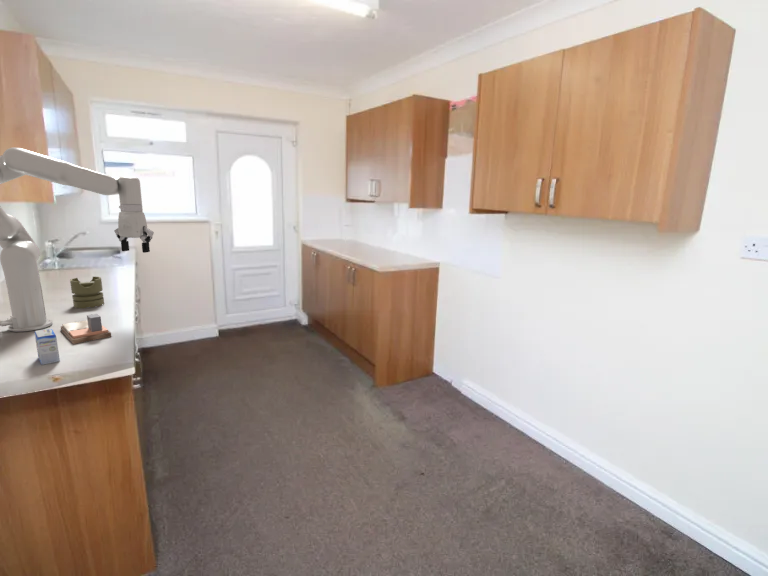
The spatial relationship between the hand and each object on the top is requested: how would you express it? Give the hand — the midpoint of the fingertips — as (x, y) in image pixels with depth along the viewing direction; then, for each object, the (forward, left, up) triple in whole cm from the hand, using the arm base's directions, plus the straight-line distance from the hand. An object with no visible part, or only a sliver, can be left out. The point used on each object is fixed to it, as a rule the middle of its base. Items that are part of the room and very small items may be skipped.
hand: (135, 251), depth 168 cm
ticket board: (-23, -13, -27) cm, 37 cm away
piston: (-12, +32, -27) cm, 43 cm away
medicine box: (-36, -34, -27) cm, 56 cm away
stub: (-23, -18, -25) cm, 38 cm away
